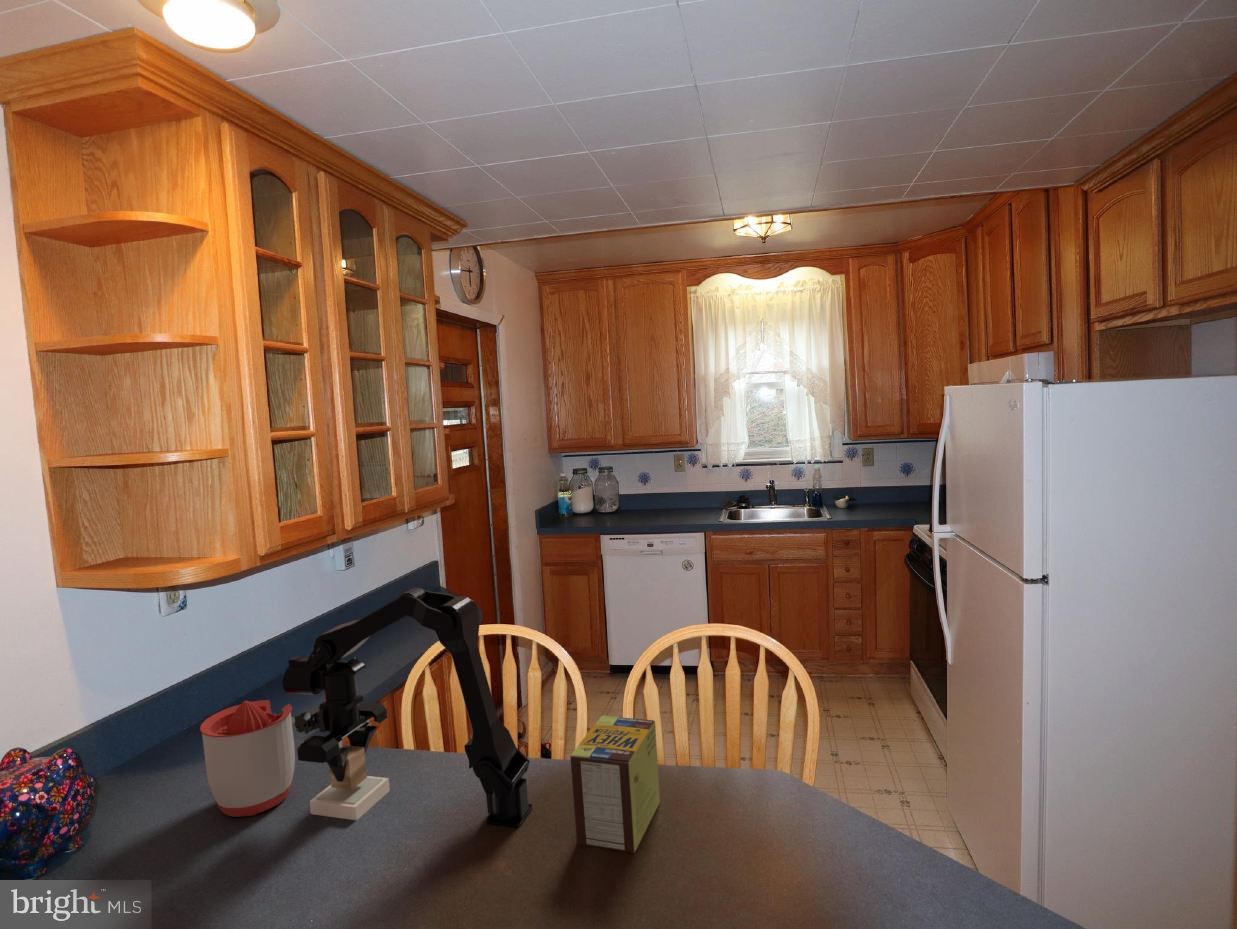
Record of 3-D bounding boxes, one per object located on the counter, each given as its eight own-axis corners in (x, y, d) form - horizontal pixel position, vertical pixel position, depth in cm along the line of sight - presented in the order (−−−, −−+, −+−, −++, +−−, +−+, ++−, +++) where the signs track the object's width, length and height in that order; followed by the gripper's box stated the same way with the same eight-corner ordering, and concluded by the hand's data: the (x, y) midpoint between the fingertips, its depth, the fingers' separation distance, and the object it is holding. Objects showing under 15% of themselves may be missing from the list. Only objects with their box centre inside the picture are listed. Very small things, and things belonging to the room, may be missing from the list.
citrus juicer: (325, 783, 142) (315, 686, 140) (247, 832, 126) (236, 724, 124) (270, 770, 148) (260, 677, 147) (190, 815, 133) (178, 712, 131)
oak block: (367, 777, 135) (364, 747, 135) (351, 789, 131) (348, 758, 131) (347, 774, 137) (344, 745, 136) (331, 787, 132) (328, 756, 132)
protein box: (660, 802, 128) (656, 719, 127) (635, 854, 114) (629, 762, 112) (606, 794, 132) (601, 714, 130) (574, 845, 117) (568, 755, 116)
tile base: (389, 790, 137) (388, 777, 137) (356, 820, 128) (355, 806, 128) (346, 785, 140) (345, 772, 140) (310, 814, 131) (309, 800, 131)
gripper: (338, 673, 144) (345, 747, 145) (268, 713, 126) (277, 796, 127) (385, 676, 140) (392, 751, 142) (320, 717, 123) (328, 803, 124)
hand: (348, 774), depth 134 cm, fingers closed on oak block, 4 cm apart
